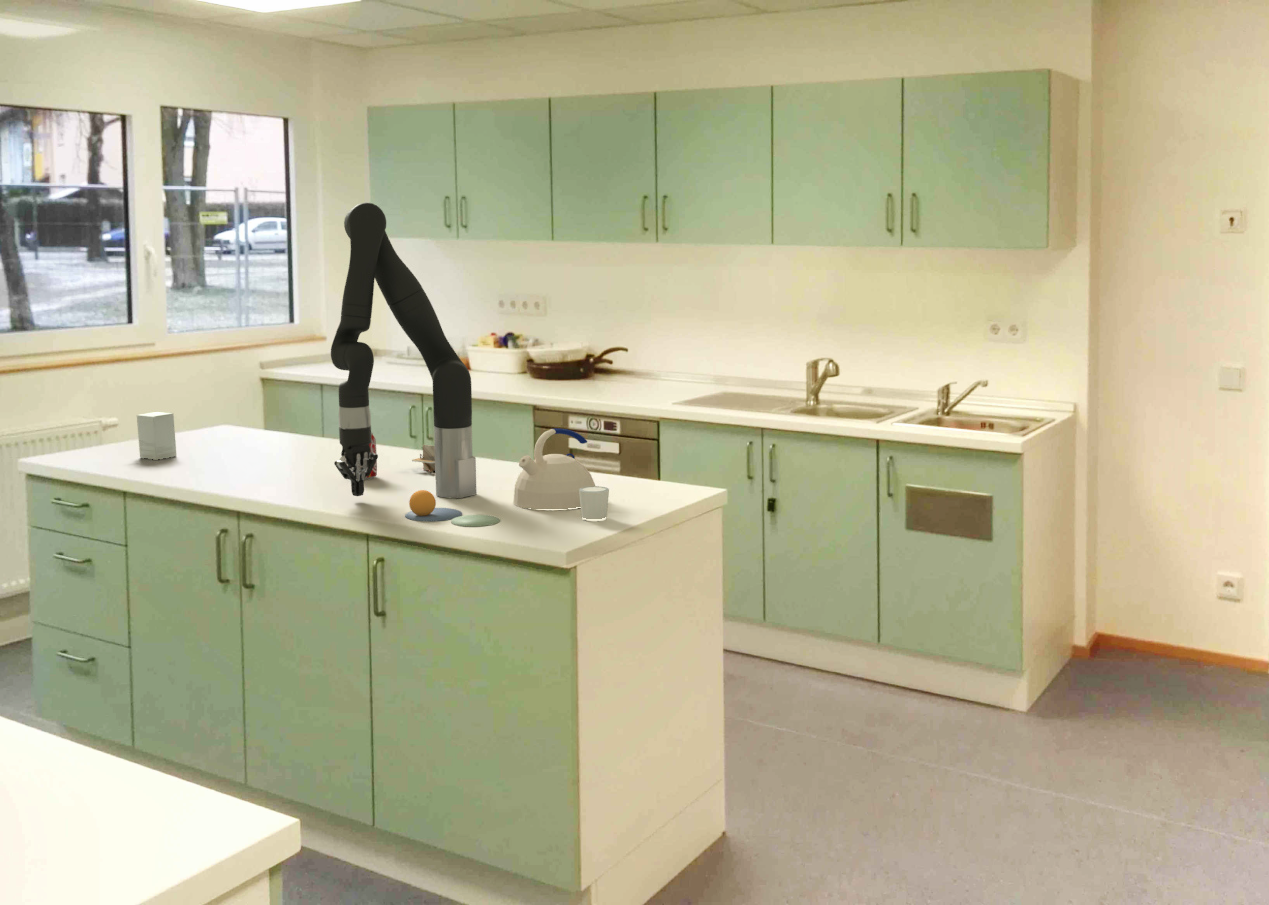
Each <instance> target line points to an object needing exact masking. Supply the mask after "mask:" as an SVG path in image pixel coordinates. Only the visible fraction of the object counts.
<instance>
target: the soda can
mask: <svg viewBox="0 0 1269 905" xmlns="http://www.w3.org/2000/svg"><path fill="white" fill-rule="evenodd" d="M371 438H372V442H371V443H370V444H369V446H370V448H371V452H372V453H373V454H377V439H376V437H375V436H374V432H373V431H371ZM377 461H378V459H377V460H376V462H375V465H374V467H373V469H372V471H371V473H370V475H369V476H366V477H365V479H364V481H369V480H372V479H374V478H375V477H377V472H378V463H377ZM367 468H368V467H367ZM366 470H367V469H366Z"/></svg>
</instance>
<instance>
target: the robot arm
mask: <svg viewBox="0 0 1269 905" xmlns="http://www.w3.org/2000/svg"><path fill="white" fill-rule="evenodd" d="M343 226H344V230H345V233H346V235H347V237H348V239H349V240H350V241H349V242H350V255H349V256H350V257H349V264H348V269H347V270H348V271H347V274H346V280H345V284H344V289H343V293H342V299H341V300H342V303H341V311H340V322H339V324H338V327H337V329H336V331H335V334H334V337H333V341H332V344H331V348H330V358H331V359H330V360H331V362H332V364H333V366H334V367H335V368H336V369H338V370H341V371H348V376H347V377H348V378H347V380H345V381H342V382H341V383H340V384H339V386H338V433H339V434H338V436H339V444H340V445H341V448H342V449H341V453H340V454H341V457H340V458H339V459H338V460H334V462H333V463H334V466H335V467H336V469H337V470H338V471H339V473H340V474H341V476H342V477H343V478H344V480H349V481H350V484H351V485H350V487H351V494H352V496H353V497H362V496H363V495H364V492H365V480H364V479H365V477H366V476H369V475H370V473H371V471H372V469H373V467H374V465H375V462H376V460H377V461H378V458H379V455H378V454H377V453H376V454H373V453H372V452H371V448H370V446H369V444H370V443H371V442H372V438H371V432H372V419H371V418H372V417H371V411H370V396H369V387H370V383H371V380H372V373H373V371H374V370H373V369H374V364H375V359H374V358H375V357H374V352H373V350H372V348H371V346H370V345H368V344H367V343H366V342H362V341H359V338H360V335H361V334H362V333H365V332H367V331H369V329H370V328H371V323H372V313H373V302H374V289H375V282H376V284H377V285H378V288H379V290H380V292H381V294H382V296H383V298H384V300H385V301H386V304H387V305H388V307H389V309H390V311H391V312H392V314H393V316H394V318H395V320H396V321H397V323H398V324H399V326H400V327H401V329H402V330H403V332H404V334H406V335H407V337H408V338H409V339H410V341H411V342H412V344H414V346H415V347H416V348H417V350H418V351H419V354H421V357H422V359H423V361H424V363H425V366H426V367H427V370H428V372H429V374H430V377H431V380H432V400H433V402H432V403H433V404H432V405H433V410H432V411H433V413H432V414H433V433H434V435H433V438H434V439H433V440H434V442H433V443H434V446H435V472H434V474H435V475H434V476H435V495H436V496H437V497H439V498H446V499H447V498H449V499H463V498H466V497H470V496H474V495H475V496H476V495H477V466H476V465H477V463H476V462H477V460H476V456H474V455H473V454H474V453H473V423H472V422H473V421H472V420H473V405H472V404H473V402H472V401H473V398H472V397H473V396H472V395H473V394H472V376H471V374H470V371H469V368H468V367H467V366H466V365H465V363H464V362H463V361H462V359H461V358H460V356H458V354H457V353H456V351H455V350H454V348H453V347H452V345H451V344H450V342H449V340H448V339H447V337H446V335H445V333H444V330H443V328H442V325H441V323H440V321H439V317H438V315H437V314H436V311H435V309H434V307H433V304H432V302H431V300H430V299H429V297H428V295H427V293H426V292H425V290H424V288H423V286H422V285H421V283H420V282H419V279H418V278H416V276H415V275H414V273H413V272H412V271H411V269H409V268H410V267H408V266H407V265H406V264H405V263H404V262H403V260H402V259H401V258H400V256H399V255H398V254H397V251H396V250H395V248H394V247H393V244H392V243H391V241H390V239H389V236H388V233H387V232H386V228H387V218H386V215H385V213H384V211H383V210H382V208H380V206H378V205H376V204H374V203H371V202H362V203H358V204H356V205H354V206H353V207H352V208H350V209H349V211H347V213H346V214H345V217H344V221H343ZM367 467H368V468H367ZM366 469H367V470H366Z"/></svg>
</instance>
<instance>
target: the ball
mask: <svg viewBox="0 0 1269 905" xmlns="http://www.w3.org/2000/svg"><path fill="white" fill-rule="evenodd" d="M436 501H437V500H436V497H435V495H434V494H433V493H431V492H430V491H428V490H426V489H420V490H416V491H415V492H413V494H411V496H410V498H409V501H408V503H409V508H410V511H412V512H413V513H415V514H416V515H418V516H427V515H429V514H430V513H432V512H433V510H434V509H435V508H436V505H437V502H436Z"/></svg>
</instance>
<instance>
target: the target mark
mask: <svg viewBox="0 0 1269 905" xmlns="http://www.w3.org/2000/svg"><path fill="white" fill-rule="evenodd" d="M404 515H405V516H404V517H405V518H406V519H407V520H411V521H416V522H441V521H442V522H444V521H451V520H452V519H453V518H456V517H459V516H463V512H462V511H461V510H459V509H456V508H455V509H454V508H448V507H435V509H434V510H433V512H432V513H430V514H429V515H427V516H418V515H416V514H415V513H413V512H412V510H410V511H408V512H406V513H405V514H404Z"/></svg>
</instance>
